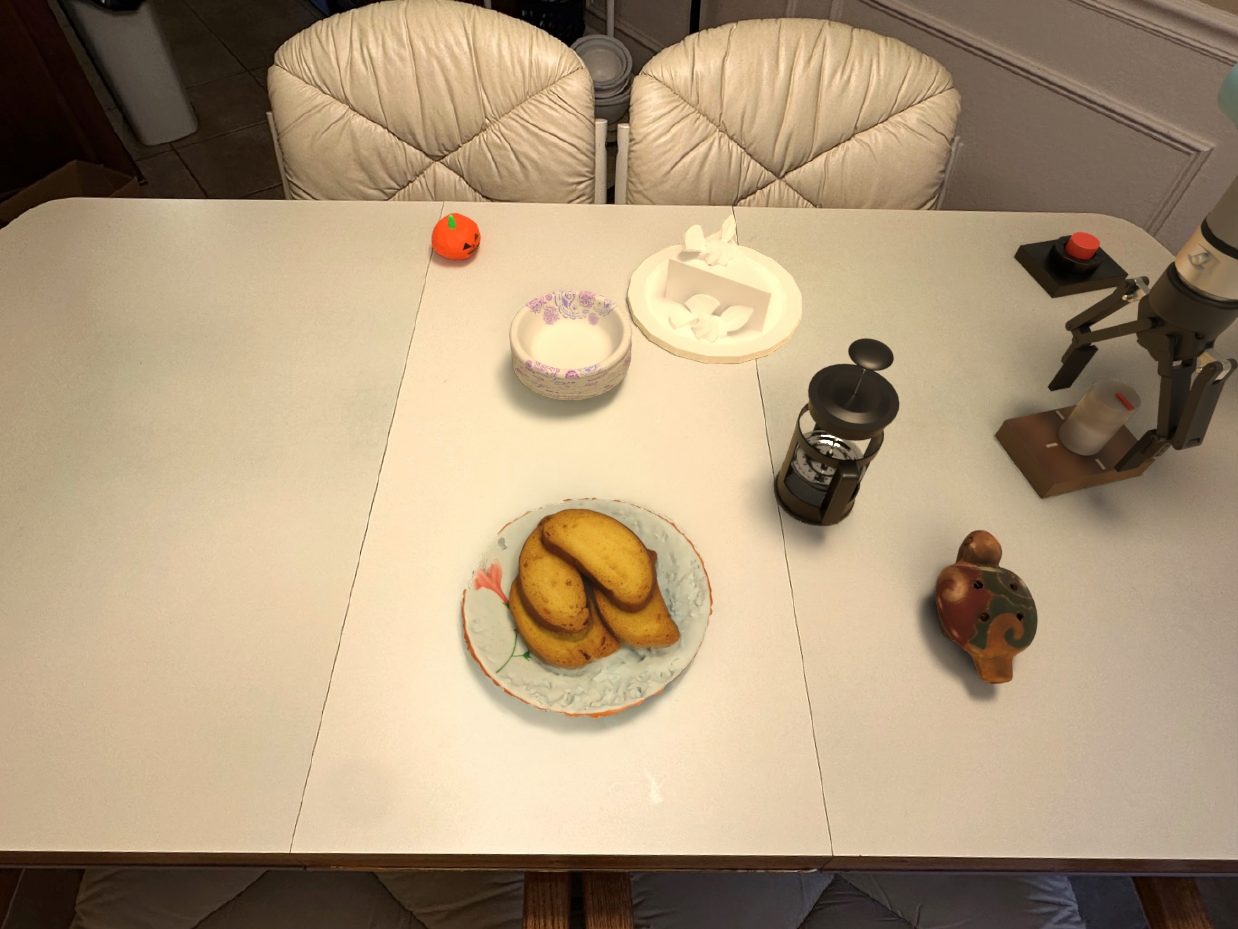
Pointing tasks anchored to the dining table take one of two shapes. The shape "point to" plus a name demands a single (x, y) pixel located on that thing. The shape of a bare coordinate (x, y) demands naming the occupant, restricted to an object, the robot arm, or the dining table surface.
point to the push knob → (1082, 245)
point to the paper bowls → (571, 344)
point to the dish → (714, 299)
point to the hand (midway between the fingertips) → (1090, 425)
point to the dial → (1098, 416)
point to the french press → (839, 433)
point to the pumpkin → (455, 236)
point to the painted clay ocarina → (986, 607)
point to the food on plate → (587, 607)
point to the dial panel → (1063, 454)
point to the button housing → (1068, 268)
